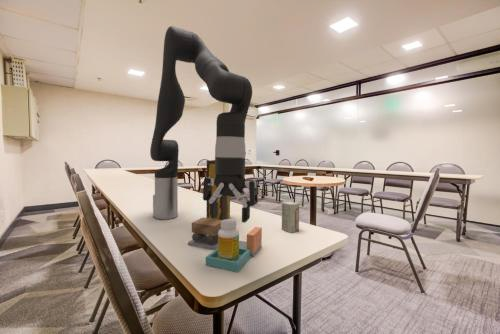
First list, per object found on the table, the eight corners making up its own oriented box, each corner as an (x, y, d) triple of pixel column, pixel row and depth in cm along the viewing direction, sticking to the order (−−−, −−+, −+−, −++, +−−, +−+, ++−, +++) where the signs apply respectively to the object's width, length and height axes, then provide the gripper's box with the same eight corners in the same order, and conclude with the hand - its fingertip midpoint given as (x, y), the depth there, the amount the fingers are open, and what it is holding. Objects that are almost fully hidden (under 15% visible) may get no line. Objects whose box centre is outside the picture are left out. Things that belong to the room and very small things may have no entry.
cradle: (205, 265, 55) (205, 257, 54) (222, 251, 63) (222, 244, 62) (237, 272, 52) (237, 263, 51) (250, 256, 60) (250, 249, 59)
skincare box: (299, 231, 80) (300, 203, 80) (290, 233, 78) (290, 204, 78) (290, 227, 85) (290, 200, 84) (280, 228, 83) (281, 202, 82)
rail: (187, 244, 67) (187, 225, 67) (200, 236, 73) (200, 219, 73) (253, 256, 59) (253, 235, 59) (261, 246, 66) (261, 227, 66)
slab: (191, 240, 67) (191, 222, 67) (203, 233, 73) (203, 217, 72) (214, 244, 64) (214, 226, 64) (224, 237, 70) (225, 220, 70)
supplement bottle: (236, 264, 54) (236, 225, 53) (215, 262, 55) (215, 223, 54) (240, 254, 59) (241, 218, 59) (221, 253, 60) (221, 217, 60)
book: (226, 234, 76) (227, 161, 75) (202, 233, 76) (202, 160, 75) (233, 216, 98) (233, 160, 97) (213, 216, 98) (214, 159, 97)
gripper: (197, 155, 55) (197, 220, 56) (251, 156, 50) (250, 227, 51) (213, 155, 62) (212, 212, 63) (262, 156, 57) (260, 219, 58)
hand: (229, 219), depth 57 cm, fingers open, 8 cm apart
